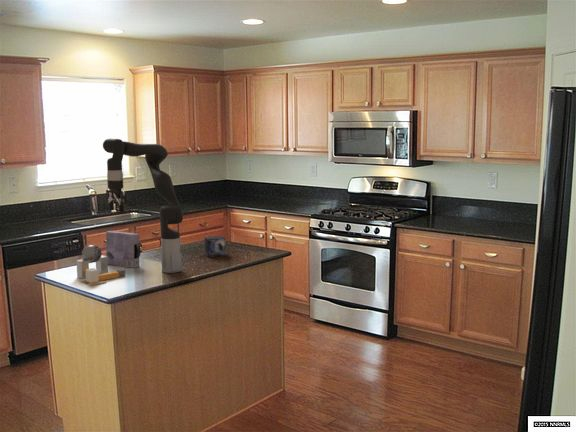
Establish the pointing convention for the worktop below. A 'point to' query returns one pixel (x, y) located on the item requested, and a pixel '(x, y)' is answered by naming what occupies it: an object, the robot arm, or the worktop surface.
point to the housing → (91, 261)
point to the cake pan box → (122, 249)
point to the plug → (102, 275)
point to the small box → (215, 246)
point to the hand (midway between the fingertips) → (116, 211)
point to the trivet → (93, 282)
